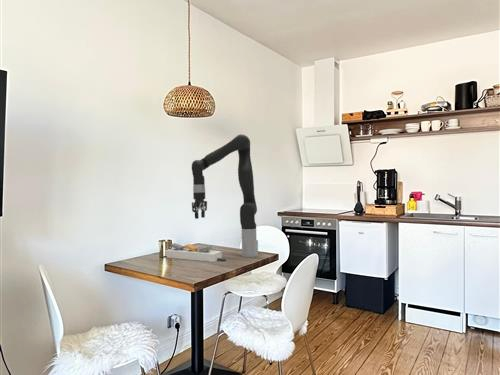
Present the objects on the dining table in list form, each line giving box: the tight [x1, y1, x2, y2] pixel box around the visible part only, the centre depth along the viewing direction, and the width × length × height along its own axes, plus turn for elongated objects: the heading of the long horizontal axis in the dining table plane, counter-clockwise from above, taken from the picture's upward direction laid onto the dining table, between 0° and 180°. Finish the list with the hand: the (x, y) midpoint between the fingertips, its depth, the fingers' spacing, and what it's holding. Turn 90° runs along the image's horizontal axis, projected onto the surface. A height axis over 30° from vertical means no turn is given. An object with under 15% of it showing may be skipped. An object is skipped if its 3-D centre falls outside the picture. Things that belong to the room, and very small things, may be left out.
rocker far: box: [170, 242, 185, 250], centre depth 227 cm, size 7×4×2 cm, turn 64°
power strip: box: [165, 247, 226, 263], centre depth 222 cm, size 43×9×5 cm, turn 64°
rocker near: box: [198, 245, 213, 252], centre depth 218 cm, size 7×4×2 cm, turn 63°
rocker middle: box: [184, 243, 199, 251], centre depth 223 cm, size 7×4×2 cm, turn 64°
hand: (200, 218), depth 230 cm, fingers open, 6 cm apart
